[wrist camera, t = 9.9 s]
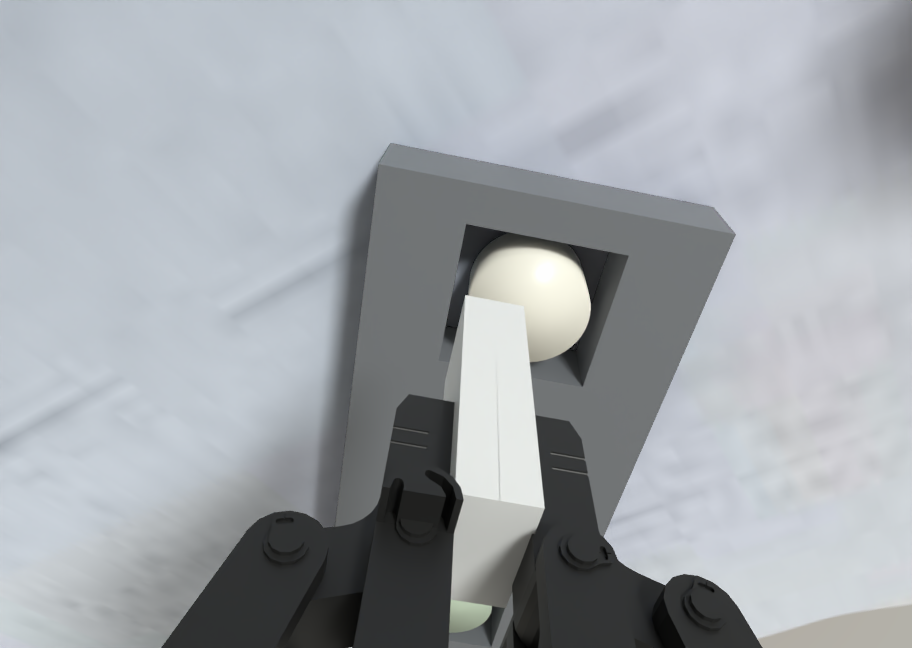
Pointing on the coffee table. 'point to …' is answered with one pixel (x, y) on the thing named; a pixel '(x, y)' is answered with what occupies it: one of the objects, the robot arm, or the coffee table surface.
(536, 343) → the button ivory
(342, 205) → the coffee table surface
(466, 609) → the button sage
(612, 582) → the robot arm
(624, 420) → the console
